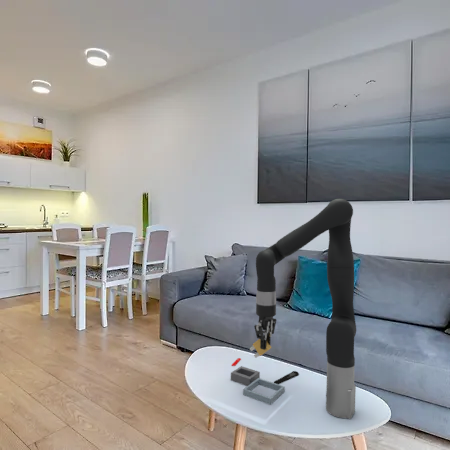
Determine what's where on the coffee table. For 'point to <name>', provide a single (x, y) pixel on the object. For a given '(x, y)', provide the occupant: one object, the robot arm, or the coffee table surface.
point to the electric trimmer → (287, 377)
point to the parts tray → (263, 398)
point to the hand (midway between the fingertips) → (265, 347)
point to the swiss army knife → (236, 362)
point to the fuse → (258, 349)
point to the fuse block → (244, 375)
